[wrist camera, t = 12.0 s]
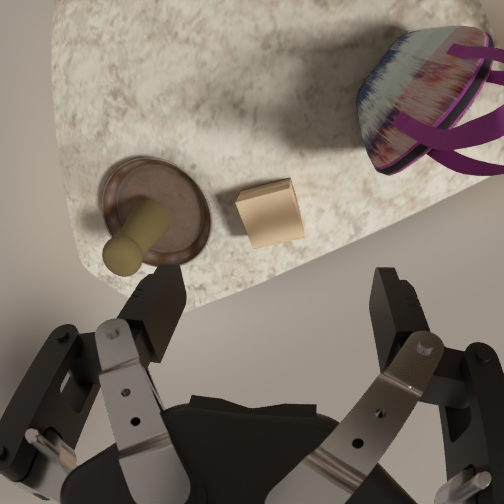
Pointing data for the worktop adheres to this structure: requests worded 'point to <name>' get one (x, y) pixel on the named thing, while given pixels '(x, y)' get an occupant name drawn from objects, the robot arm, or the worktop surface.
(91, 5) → the worktop surface
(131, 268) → the olive green pawn
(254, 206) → the oak base block
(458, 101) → the handbag
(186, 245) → the plant saucer
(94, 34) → the worktop surface
